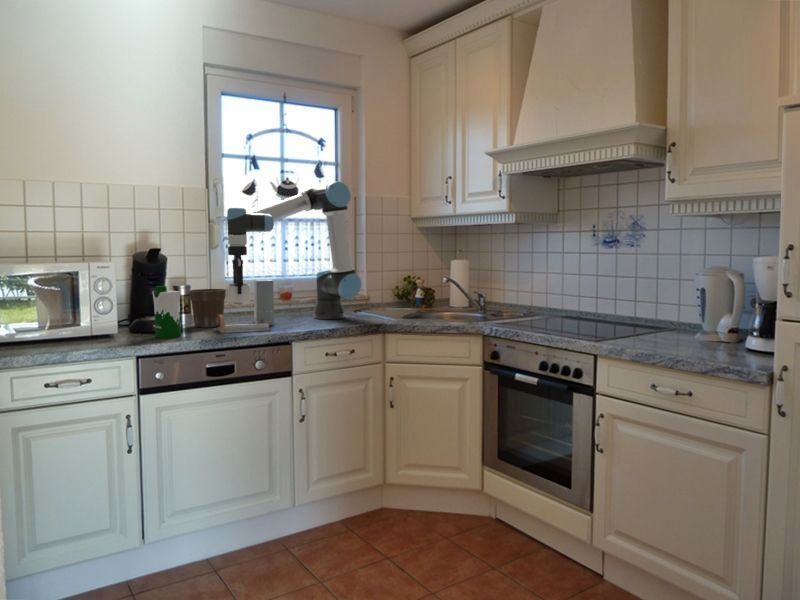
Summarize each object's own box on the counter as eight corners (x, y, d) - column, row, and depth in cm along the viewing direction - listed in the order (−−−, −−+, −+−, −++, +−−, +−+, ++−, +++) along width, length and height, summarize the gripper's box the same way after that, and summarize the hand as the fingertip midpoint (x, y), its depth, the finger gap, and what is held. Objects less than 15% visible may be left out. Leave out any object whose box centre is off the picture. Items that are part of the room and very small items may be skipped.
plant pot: (188, 324, 275) (187, 288, 274) (226, 322, 281) (224, 287, 279) (190, 329, 260) (189, 291, 258) (229, 327, 266) (228, 290, 264)
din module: (248, 300, 259) (248, 283, 258) (250, 302, 253) (250, 283, 253) (226, 301, 256) (226, 283, 255) (228, 303, 250) (227, 284, 249)
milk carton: (151, 337, 239) (149, 286, 237) (173, 334, 246) (171, 284, 244) (162, 339, 233) (160, 287, 231) (184, 336, 240) (182, 285, 238)
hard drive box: (274, 325, 272) (273, 280, 270) (256, 326, 270) (255, 281, 268) (270, 321, 287) (269, 278, 285) (254, 321, 284) (253, 279, 282)
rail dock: (266, 327, 266) (266, 312, 265) (270, 331, 255) (270, 315, 254) (218, 329, 259) (218, 314, 258) (221, 333, 247) (220, 317, 247)
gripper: (225, 245, 260) (227, 299, 262) (230, 245, 242) (231, 303, 244) (243, 245, 263) (244, 299, 265) (249, 245, 245) (250, 303, 247)
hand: (238, 301), depth 255 cm, fingers closed on din module, 6 cm apart
